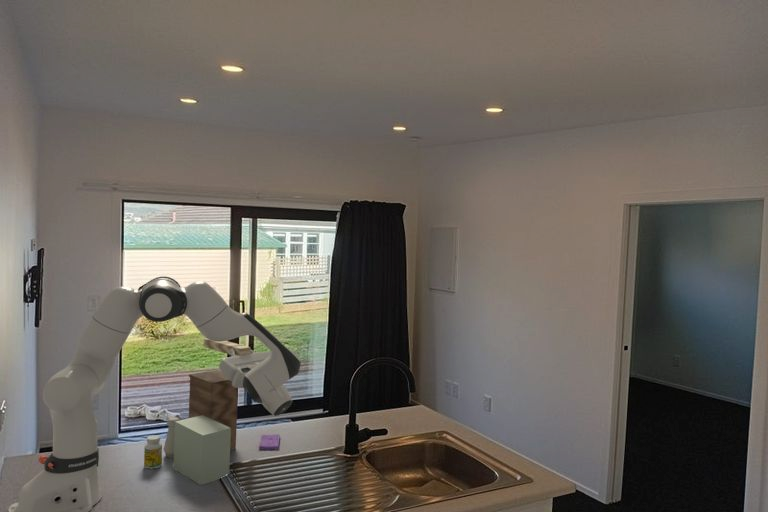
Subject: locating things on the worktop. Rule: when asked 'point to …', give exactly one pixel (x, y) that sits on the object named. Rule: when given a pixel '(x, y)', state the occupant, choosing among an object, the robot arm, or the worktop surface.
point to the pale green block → (202, 449)
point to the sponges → (269, 442)
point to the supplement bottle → (153, 452)
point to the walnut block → (214, 399)
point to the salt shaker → (170, 437)
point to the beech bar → (226, 347)
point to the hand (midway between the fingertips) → (238, 349)
